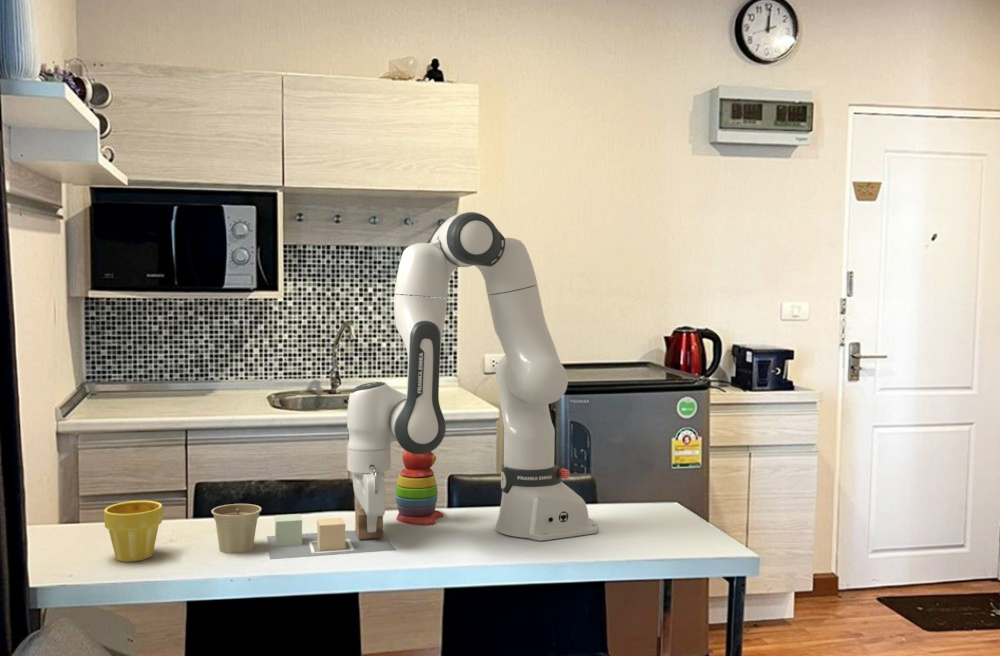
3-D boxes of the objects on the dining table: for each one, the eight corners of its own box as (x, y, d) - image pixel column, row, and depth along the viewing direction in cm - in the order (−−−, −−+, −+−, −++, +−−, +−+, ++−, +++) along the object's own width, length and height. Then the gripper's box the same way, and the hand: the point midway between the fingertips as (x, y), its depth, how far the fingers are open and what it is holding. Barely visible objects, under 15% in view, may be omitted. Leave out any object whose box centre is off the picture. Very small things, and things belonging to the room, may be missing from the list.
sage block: (300, 538, 182) (300, 514, 182) (301, 544, 177) (302, 520, 177) (275, 539, 180) (275, 515, 180) (276, 546, 176) (276, 521, 175)
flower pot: (269, 547, 178) (269, 505, 177) (248, 561, 169) (247, 516, 168) (226, 544, 180) (226, 502, 179) (202, 558, 170) (202, 513, 170)
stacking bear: (433, 530, 192) (433, 448, 192) (388, 527, 194) (389, 446, 194) (446, 517, 203) (446, 440, 202) (403, 514, 205) (404, 438, 204)
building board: (382, 532, 190) (382, 505, 190) (395, 553, 175) (395, 524, 174) (267, 540, 183) (267, 512, 183) (269, 563, 168) (270, 532, 167)
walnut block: (379, 531, 187) (379, 507, 186) (383, 537, 182) (383, 513, 182) (355, 532, 185) (355, 509, 185) (358, 539, 180) (358, 515, 180)
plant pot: (103, 567, 164) (103, 515, 163) (105, 552, 173) (104, 502, 173) (163, 561, 168) (163, 510, 167) (161, 547, 177) (161, 498, 177)
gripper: (392, 470, 174) (392, 539, 174) (376, 451, 193) (376, 514, 194) (360, 472, 172) (360, 542, 173) (347, 453, 191) (347, 516, 192)
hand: (369, 527), depth 183 cm, fingers closed on walnut block, 5 cm apart
